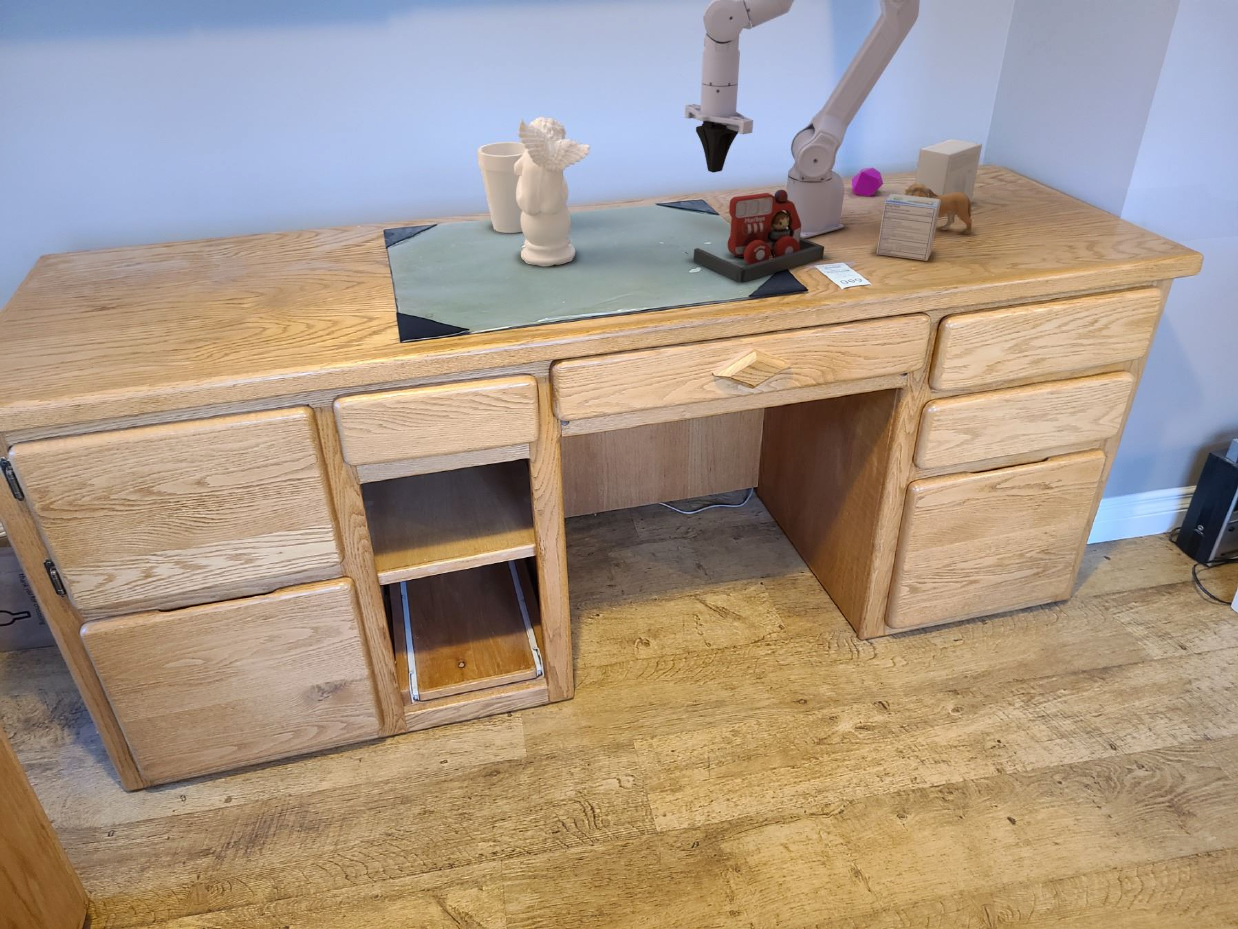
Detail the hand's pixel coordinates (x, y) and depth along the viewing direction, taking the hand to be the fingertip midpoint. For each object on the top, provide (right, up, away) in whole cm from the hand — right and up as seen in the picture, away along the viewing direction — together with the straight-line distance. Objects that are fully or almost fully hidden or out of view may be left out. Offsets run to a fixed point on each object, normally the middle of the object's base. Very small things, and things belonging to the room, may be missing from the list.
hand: (715, 170), depth 148 cm
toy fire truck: (+7, -17, -8) cm, 19 cm away
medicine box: (+29, -15, -6) cm, 34 cm away
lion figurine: (+36, -11, +1) cm, 38 cm away
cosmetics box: (+42, -2, +15) cm, 45 cm away
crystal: (+31, +3, +21) cm, 37 cm away
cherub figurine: (-26, -17, -8) cm, 32 cm away
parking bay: (+6, -17, -8) cm, 20 cm away
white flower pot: (-34, -8, +6) cm, 36 cm away
